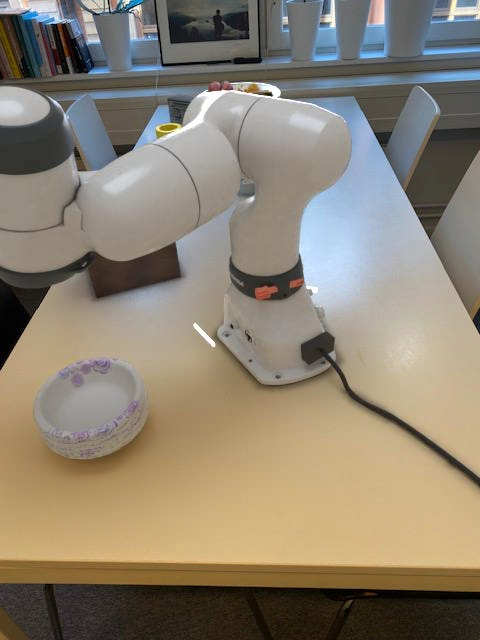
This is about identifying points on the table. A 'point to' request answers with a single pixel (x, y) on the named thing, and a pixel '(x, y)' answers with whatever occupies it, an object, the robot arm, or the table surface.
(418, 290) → the table surface
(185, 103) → the small box
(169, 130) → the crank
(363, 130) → the table surface
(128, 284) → the box
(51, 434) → the paper bowls
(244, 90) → the bowl
